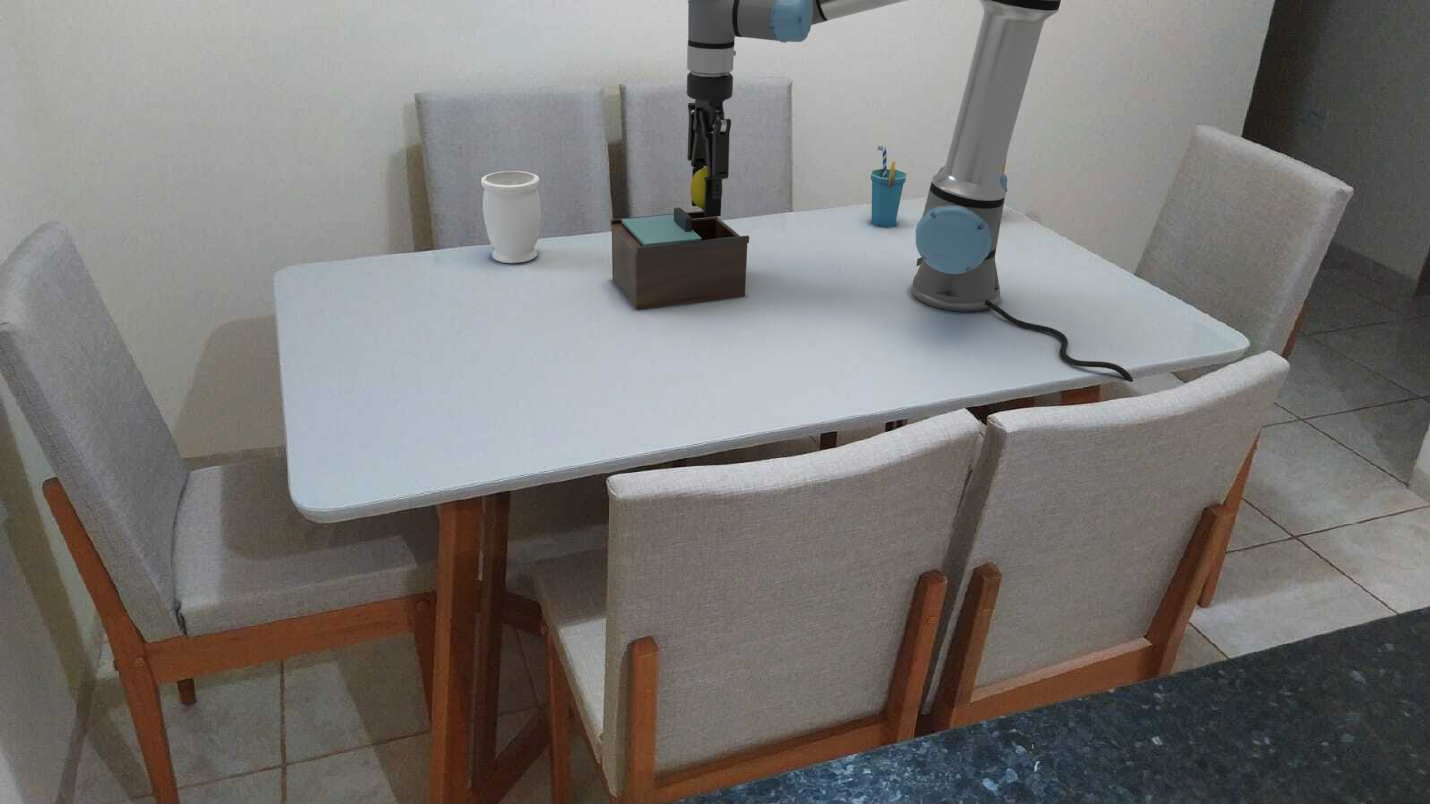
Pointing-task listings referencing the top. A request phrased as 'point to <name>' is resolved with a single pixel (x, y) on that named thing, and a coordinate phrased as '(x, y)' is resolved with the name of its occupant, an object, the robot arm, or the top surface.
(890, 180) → the cup
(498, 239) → the jar
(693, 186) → the lemon
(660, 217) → the teal box lid
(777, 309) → the top surface
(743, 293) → the chest
